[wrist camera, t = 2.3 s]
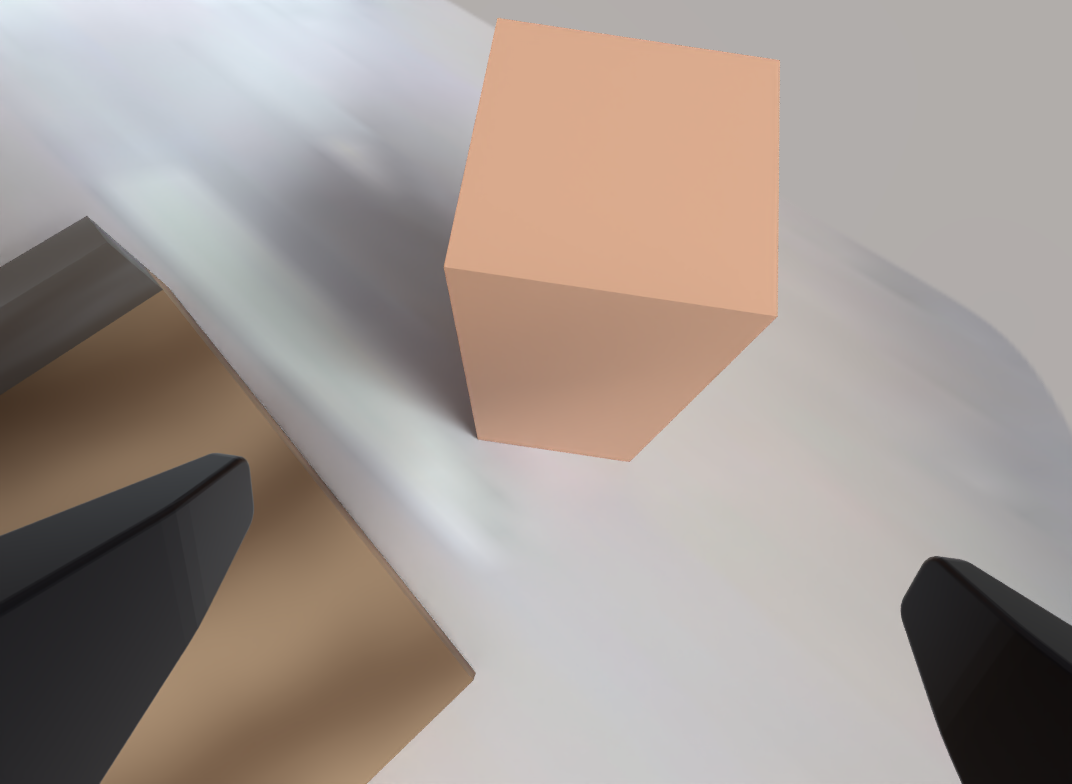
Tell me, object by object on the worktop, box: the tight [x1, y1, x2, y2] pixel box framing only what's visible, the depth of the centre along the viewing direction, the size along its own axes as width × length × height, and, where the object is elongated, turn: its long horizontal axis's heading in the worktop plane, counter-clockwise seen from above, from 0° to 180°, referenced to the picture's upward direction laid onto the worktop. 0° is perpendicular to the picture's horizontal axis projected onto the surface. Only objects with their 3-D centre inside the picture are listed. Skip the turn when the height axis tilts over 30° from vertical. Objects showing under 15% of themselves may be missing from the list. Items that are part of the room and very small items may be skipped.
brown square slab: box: [0, 216, 475, 784], centre depth 16 cm, size 18×18×4 cm
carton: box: [444, 18, 780, 462], centre depth 16 cm, size 6×6×12 cm
